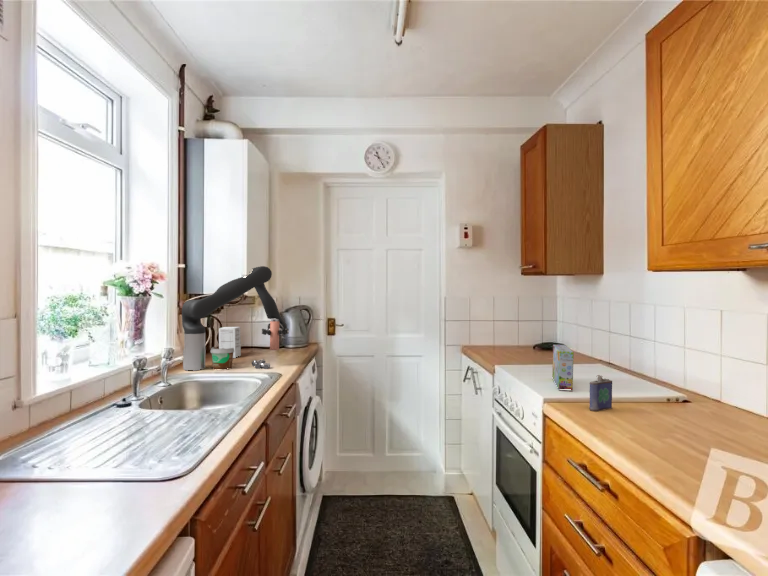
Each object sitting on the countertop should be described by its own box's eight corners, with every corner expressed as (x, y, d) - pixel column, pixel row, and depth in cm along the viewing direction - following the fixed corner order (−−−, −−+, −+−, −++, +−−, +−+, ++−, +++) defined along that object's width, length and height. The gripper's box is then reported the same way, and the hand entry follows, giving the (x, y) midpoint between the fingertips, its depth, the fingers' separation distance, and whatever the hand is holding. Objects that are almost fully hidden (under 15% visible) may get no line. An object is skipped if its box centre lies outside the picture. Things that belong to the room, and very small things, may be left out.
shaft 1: (256, 366, 204) (256, 360, 204) (251, 366, 205) (251, 360, 205) (265, 364, 210) (265, 358, 210) (260, 364, 211) (260, 358, 211)
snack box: (574, 392, 153) (574, 351, 153) (558, 391, 155) (558, 351, 155) (565, 380, 174) (565, 344, 174) (551, 379, 175) (551, 343, 175)
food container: (204, 369, 196) (204, 348, 196) (213, 367, 202) (213, 346, 202) (226, 370, 193) (226, 349, 193) (234, 368, 199) (234, 347, 199)
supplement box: (241, 355, 237) (241, 326, 238) (235, 358, 228) (235, 328, 228) (224, 355, 237) (224, 326, 237) (218, 358, 228) (218, 328, 228)
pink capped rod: (267, 349, 204) (268, 319, 204) (274, 348, 208) (274, 318, 208) (274, 350, 202) (275, 319, 202) (280, 349, 206) (281, 319, 206)
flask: (594, 412, 128) (594, 377, 128) (586, 409, 131) (586, 375, 131) (614, 408, 132) (614, 375, 132) (605, 406, 135) (605, 373, 135)
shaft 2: (254, 368, 199) (254, 362, 199) (257, 367, 202) (257, 361, 202) (267, 369, 198) (267, 362, 198) (270, 367, 201) (270, 361, 201)
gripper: (262, 322, 218) (259, 325, 201) (289, 322, 221) (289, 325, 204) (261, 337, 217) (259, 340, 201) (289, 336, 221) (289, 340, 204)
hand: (274, 332), depth 202 cm, fingers closed on pink capped rod, 4 cm apart
